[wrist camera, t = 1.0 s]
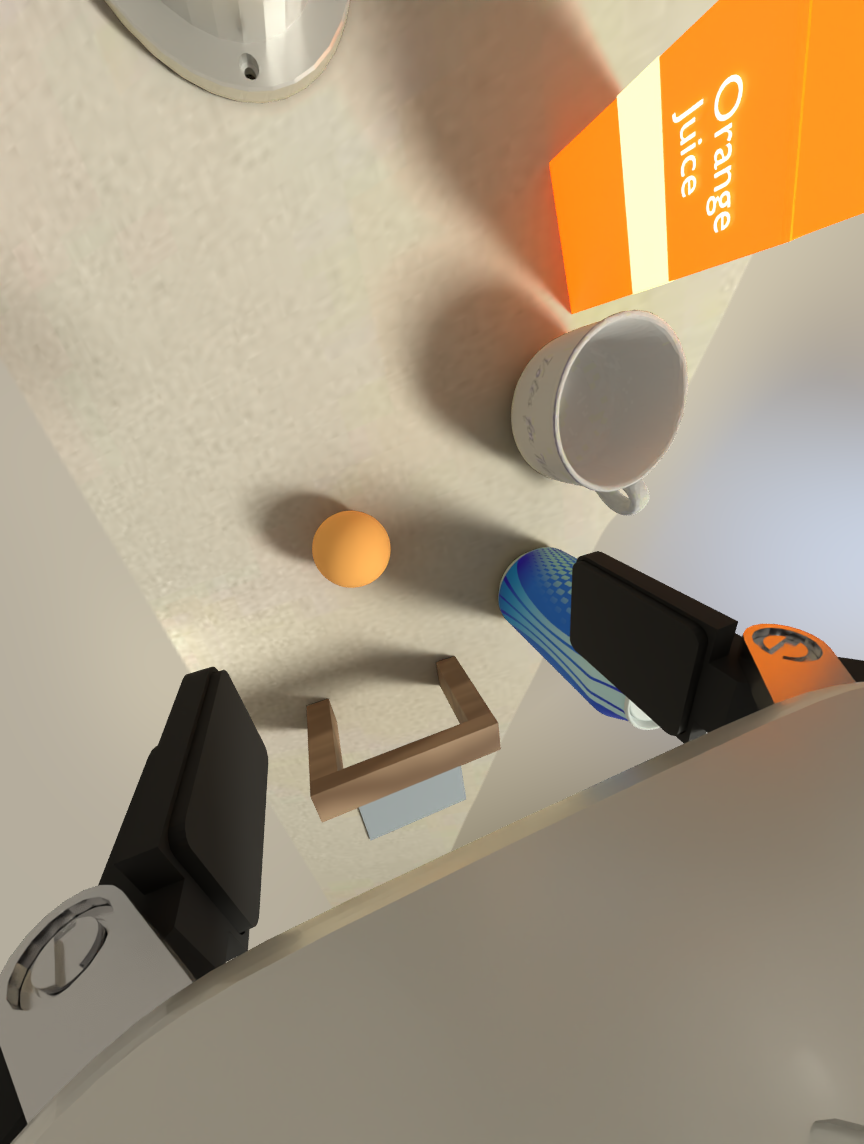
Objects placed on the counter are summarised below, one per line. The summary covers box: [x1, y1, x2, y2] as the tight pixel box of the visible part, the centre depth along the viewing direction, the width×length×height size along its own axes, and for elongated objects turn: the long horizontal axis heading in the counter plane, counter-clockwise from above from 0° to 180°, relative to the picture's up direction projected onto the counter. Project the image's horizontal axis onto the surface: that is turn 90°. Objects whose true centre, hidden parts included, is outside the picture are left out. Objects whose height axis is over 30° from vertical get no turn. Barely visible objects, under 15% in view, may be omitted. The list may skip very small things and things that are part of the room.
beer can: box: [498, 547, 660, 730], centre depth 30 cm, size 8×8×16 cm
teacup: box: [511, 310, 688, 515], centre depth 29 cm, size 14×11×8 cm
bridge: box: [307, 656, 501, 822], centre depth 33 cm, size 3×14×9 cm, turn 99°
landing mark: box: [359, 766, 466, 840], centre depth 43 cm, size 12×12×1 cm
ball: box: [312, 511, 391, 588], centre depth 27 cm, size 6×6×6 cm
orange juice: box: [549, 0, 864, 314], centre depth 19 cm, size 8×9×20 cm
